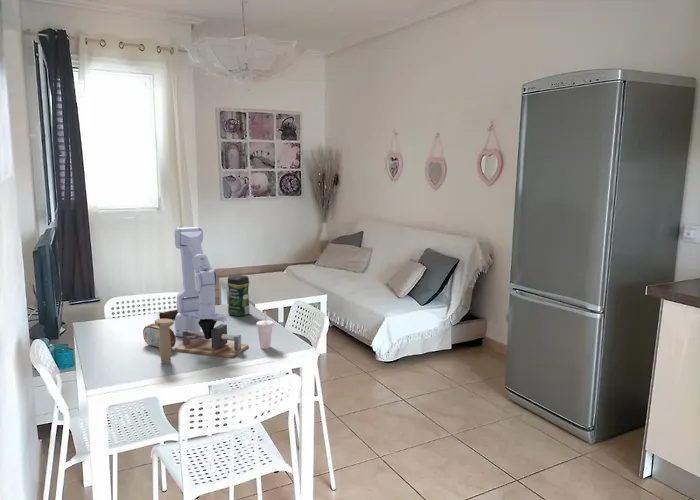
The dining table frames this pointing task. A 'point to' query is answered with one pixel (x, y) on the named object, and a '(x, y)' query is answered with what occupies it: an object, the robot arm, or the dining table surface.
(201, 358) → the dining table surface
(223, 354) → the base board
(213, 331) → the collar
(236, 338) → the silver metal rod
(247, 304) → the coffee jar
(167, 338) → the handle
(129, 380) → the dining table surface
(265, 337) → the smoothie
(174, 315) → the hand tool
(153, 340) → the tin
